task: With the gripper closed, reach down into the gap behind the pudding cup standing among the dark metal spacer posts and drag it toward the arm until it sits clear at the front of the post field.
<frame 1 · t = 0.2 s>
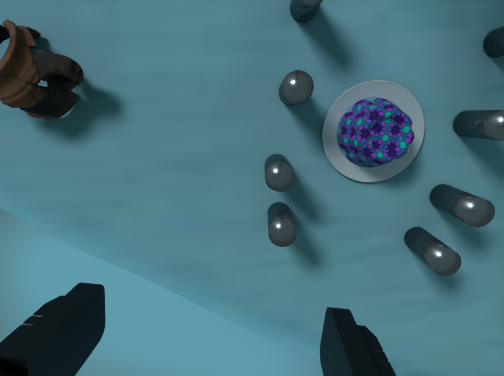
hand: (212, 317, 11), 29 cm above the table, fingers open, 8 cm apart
pudding: (370, 132, 38), on the table
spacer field: (367, 149, 38), on the table
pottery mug: (52, 76, 38), on the table
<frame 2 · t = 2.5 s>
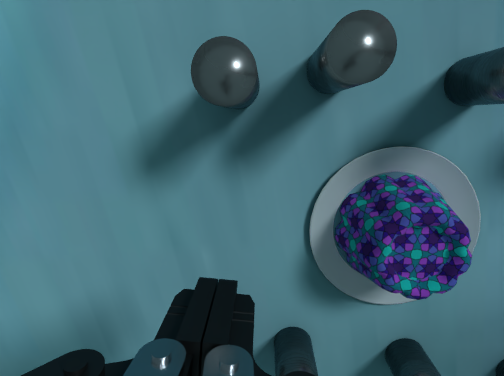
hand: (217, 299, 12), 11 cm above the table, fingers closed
pudding: (388, 225, 23), on the table
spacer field: (363, 226, 23), on the table
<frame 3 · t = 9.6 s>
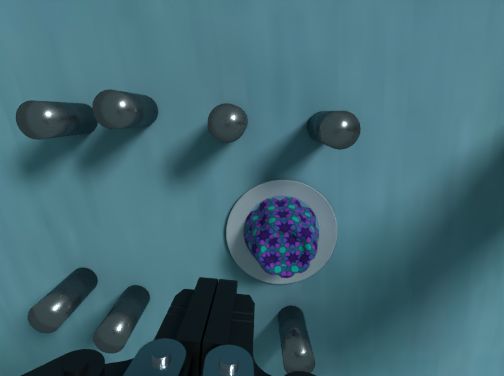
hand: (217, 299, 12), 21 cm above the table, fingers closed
pudding: (280, 230, 35), on the table
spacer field: (176, 214, 34), on the table
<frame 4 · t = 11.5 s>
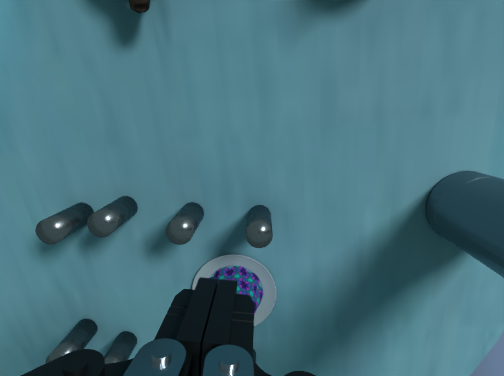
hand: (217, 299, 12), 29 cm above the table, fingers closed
pudding: (234, 289, 45), on the table
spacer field: (154, 279, 45), on the table
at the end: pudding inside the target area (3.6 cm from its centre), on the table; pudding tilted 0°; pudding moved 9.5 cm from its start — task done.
